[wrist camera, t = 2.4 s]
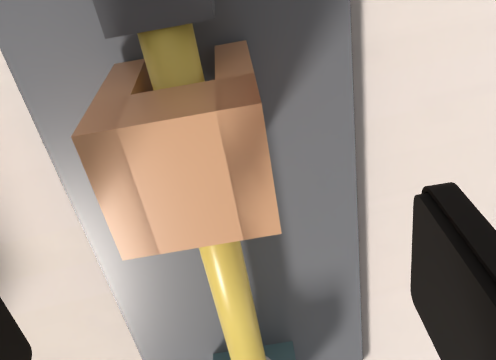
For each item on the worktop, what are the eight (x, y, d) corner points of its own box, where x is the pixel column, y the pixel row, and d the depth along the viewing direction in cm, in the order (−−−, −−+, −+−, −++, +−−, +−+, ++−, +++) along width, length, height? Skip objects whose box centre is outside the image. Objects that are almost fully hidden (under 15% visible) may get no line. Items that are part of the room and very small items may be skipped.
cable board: (-29, -49, 15) (-138, -26, 10) (338, -119, 14) (397, -127, 10) (167, 394, 28) (158, 492, 23) (358, 364, 28) (387, 456, 23)
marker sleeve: (114, 63, 15) (70, 136, 11) (246, 39, 15) (261, 103, 11) (146, 163, 18) (122, 260, 13) (262, 142, 17) (281, 233, 13)
